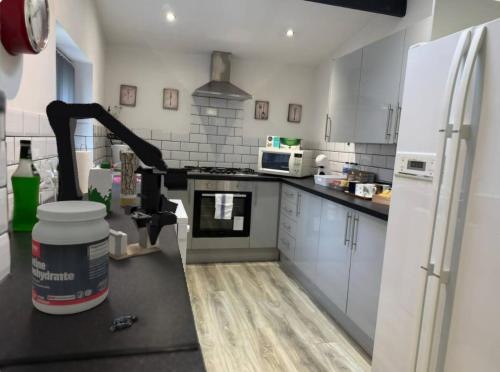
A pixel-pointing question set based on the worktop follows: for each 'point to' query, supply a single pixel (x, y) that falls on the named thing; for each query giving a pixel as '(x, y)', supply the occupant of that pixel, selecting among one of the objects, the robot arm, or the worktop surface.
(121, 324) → the dark grey lumpy piece
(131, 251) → the board
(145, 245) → the stub
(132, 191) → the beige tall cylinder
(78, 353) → the worktop surface
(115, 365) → the worktop surface
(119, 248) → the bracketed cream block
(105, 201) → the milk carton
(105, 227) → the supplement tub
